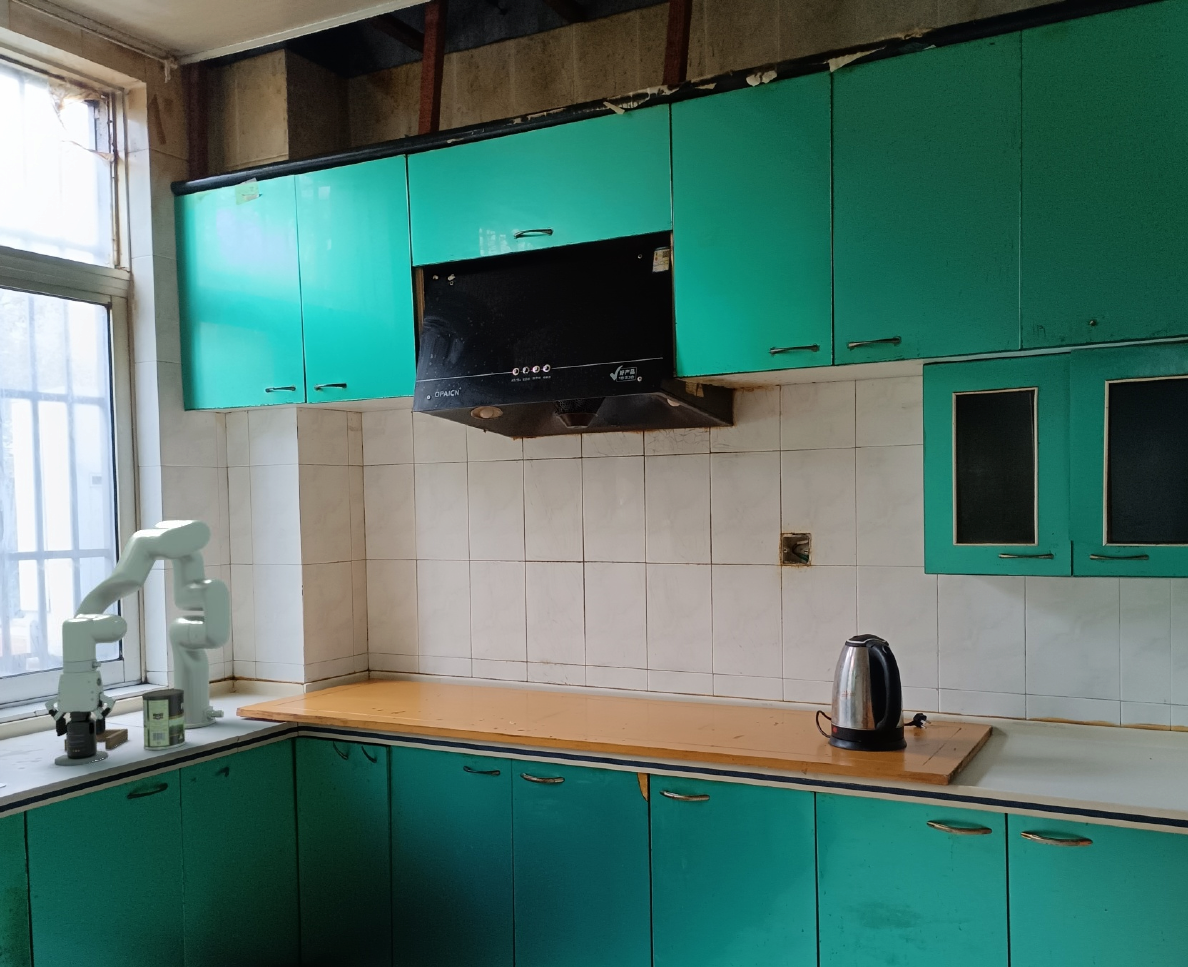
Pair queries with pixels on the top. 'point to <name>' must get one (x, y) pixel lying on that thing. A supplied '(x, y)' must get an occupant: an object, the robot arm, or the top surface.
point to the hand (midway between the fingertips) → (80, 734)
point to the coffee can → (163, 719)
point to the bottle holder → (110, 737)
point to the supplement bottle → (81, 736)
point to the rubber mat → (66, 761)
